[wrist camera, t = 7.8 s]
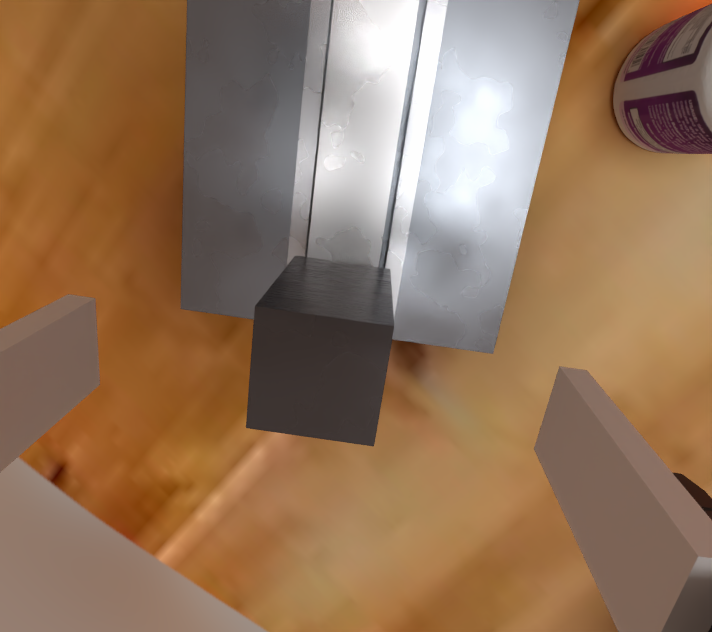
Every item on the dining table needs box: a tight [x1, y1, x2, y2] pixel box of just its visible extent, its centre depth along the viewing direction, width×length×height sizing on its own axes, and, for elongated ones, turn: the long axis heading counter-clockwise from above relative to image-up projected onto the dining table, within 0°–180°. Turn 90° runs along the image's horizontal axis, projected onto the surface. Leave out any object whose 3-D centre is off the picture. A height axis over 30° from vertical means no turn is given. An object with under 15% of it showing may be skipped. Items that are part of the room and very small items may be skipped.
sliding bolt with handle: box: [246, 0, 419, 446], centre depth 18 cm, size 16×4×10 cm, turn 172°
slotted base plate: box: [181, 0, 579, 354], centre depth 18 cm, size 28×16×8 cm, turn 172°
